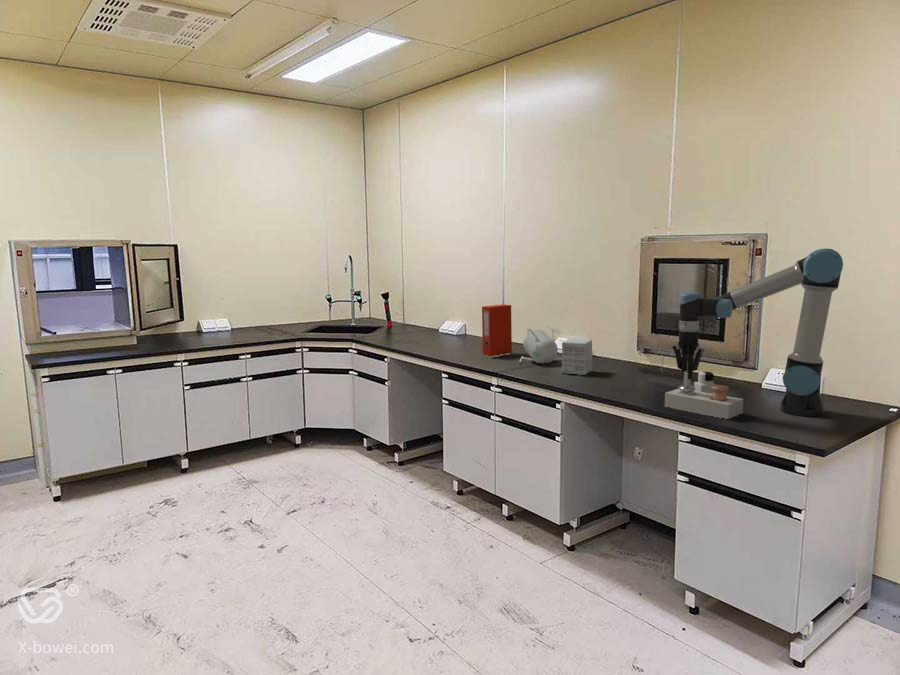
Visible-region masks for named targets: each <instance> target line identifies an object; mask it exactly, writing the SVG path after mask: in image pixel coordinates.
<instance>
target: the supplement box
mask: <svg viewBox="0 0 900 675" xmlns="http://www.w3.org/2000/svg"><path fill="white" fill-rule="evenodd" d="M561 358H562V359H561V367H562V368H561V371H562V372H565V373H579V374H587V373H588V372H589V371H591V370H592V371H593V339H585V338H583V339H582V338H568V339H566V340H565V341H562V342H561ZM592 371H591V372H592ZM562 372H561V373H562ZM587 375H588V374H587Z"/></svg>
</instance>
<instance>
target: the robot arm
mask: <svg viewBox="0 0 900 675" xmlns="http://www.w3.org/2000/svg"><path fill="white" fill-rule="evenodd" d="M843 268H844V261H843V257H842V256H841V254H840V253H839V252H838V251H837V250H835V249H831V248H820V249H817V250H814V251H812V252H811V253H809V254H808V255H807V256H806V257H804V258H802V259H799V260H797V261H796V262H795V263H794V265H791V266H789V267H787V268H784V269H781V270H780V271H777V272H774V273H772V274H769V275H767V276H765V277H763V278H760V279H757V280H755V281H752V282H750V283H748V284H745V285H743V286H741V287H738V288H735V289H733V290H730V291H729V292H725V293H723V294H720V295H718V296H716V297H714V298H702V297H701V294H700V293H698V292H684V293H681V294H680V300H679V319H678V320H679V325H678V328H679V332H678V342H677V344H676V345H673V346H672V349H673V351H674V354H675V362H676V365H677V369H679V370H681V378H682V379H683V385H684V386H683V387H689V386H691V380H693V373H694V372H695V371H698V368H699V365H700V361H701V358H702V356H703V355H702V354H703V353H704V352H705V348H702V347H700V345H699V329H700V317H701V318H703V317H704V318H718V319H719V318H720V319H723V318H724V319H725V318H726V319H729V318H731V317H732V314H733V311H735V310H737V309H739V308H742V307H745V306H748V305H749V304H752V303H755V302H758V301H760V300H763V299H765V298H768V297H771V296H774V295H775V294H778V293H780V292H784V291H786V290H788V289H790V288H793V287H796V286H799V285H801V286H802V288H803V289H804V293H803V297H802V304H801V309H800V313H799V319H798V325H797V329H796V335H795V340H794V341H795V342H794V346H793V352H792V353H790V354H788V355H787V358H786V364H785V368H784V373H783V375H782V383H783V386H784V387H785V393H784V395H783V397H782V400H781V402H780V404H779V405H780V406H779V407H780V408H779V409H780V411H781V412H783V413H786V414H789V415H793V416H800V417H801V416H802V417H819V416H820V417H821V416H823V415H824V414H825V406H824V402H823V400H822V395H821V387H822V386H821V384H822V371H823V367H824V365H823V364H824V360H823V357H822V356H821V351H822V346H823V341H824V336H825V330H826V325H827V320H828V315H829V309H830V306H831V300H832V295H833V293H834V292H835V291H836V290H838V289H839V285H840V279H841V275H842V271H843Z"/></svg>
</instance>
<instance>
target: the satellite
mask: <svg viewBox="0 0 900 675" xmlns="http://www.w3.org/2000/svg"><path fill="white" fill-rule="evenodd" d="M546 327H547V328H549V329H551V337H550V336H549V334H547V333H546V332H545V331H544V330H542V329H535V330H532V329H531V328H527V330H526V332H527V333H526V334H527V336H525V338H524V340H523V342H522V346H523V349H524V350H525V352H526V353H527V354H528V355H529V356H530V358H529V357H525V356H523V355H522V356H521V357H520V359H519V362H522V360H529V361H533V362H536V363H537V364H539V363H547V364H549V362H550V363H551V362H553V361H554V360H555V358H556V357H557V355H558V345H557V343H556V342H555V336H554V335H555V334H554V333H556V334H561V333H563V331H562V330H559V329H554V328H553V327H550V326H548V325H546ZM529 331H530V332H529Z"/></svg>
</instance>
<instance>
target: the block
mask: <svg viewBox="0 0 900 675" xmlns="http://www.w3.org/2000/svg"><path fill="white" fill-rule="evenodd" d="M668 407H670V408H669V409H673V410H679V411H684V412H687V411H688V413H692V412H693V414H697V413H698V415H702V416H707V415H708V417H711V416H713V417H712V418H716V417H719V418H718V419H721V418H725V419H724V420H726V419H729V420H731V419H733V418H732V417H734V418H736V417H738V416H740V415H739V414H741V415H743V414H744V413H743V412H744V398H739V397H735V396H734V397H732V396H728V395H727V400H726V401H724V402H722V401H717V400H713V394H712V393H706V392H700V391H694V394H693V395H685V394H681V390H679V388H676V389H673V390H669V391H667V392H665V393H664V408H668ZM742 413H743V414H742ZM737 415H738V416H737ZM735 416H736V417H735ZM730 418H731V419H730Z"/></svg>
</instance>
